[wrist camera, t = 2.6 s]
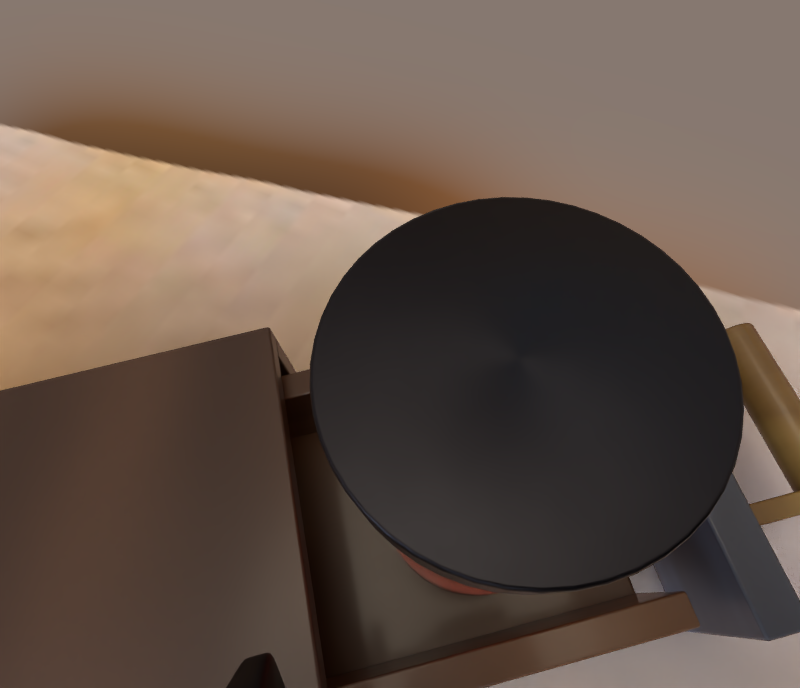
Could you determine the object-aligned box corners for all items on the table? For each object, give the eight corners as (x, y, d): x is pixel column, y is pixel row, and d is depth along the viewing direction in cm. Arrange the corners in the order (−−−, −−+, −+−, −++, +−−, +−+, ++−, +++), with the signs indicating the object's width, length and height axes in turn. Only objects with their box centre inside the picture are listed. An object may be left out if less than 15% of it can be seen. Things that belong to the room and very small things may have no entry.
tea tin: (592, 521, 17) (843, 391, 6) (457, 641, 15) (501, 718, 5) (477, 392, 19) (528, 141, 9) (350, 489, 18) (233, 329, 7)
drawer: (685, 315, 21) (748, 242, 17) (839, 587, 16) (979, 582, 12) (204, 433, 20) (142, 388, 16) (227, 758, 15) (149, 817, 11)
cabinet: (314, 400, 21) (269, 325, 15) (373, 737, 16) (339, 811, 10) (-99, 501, 20) (-309, 462, 15) (-174, 892, 15) (-539, 1065, 10)
